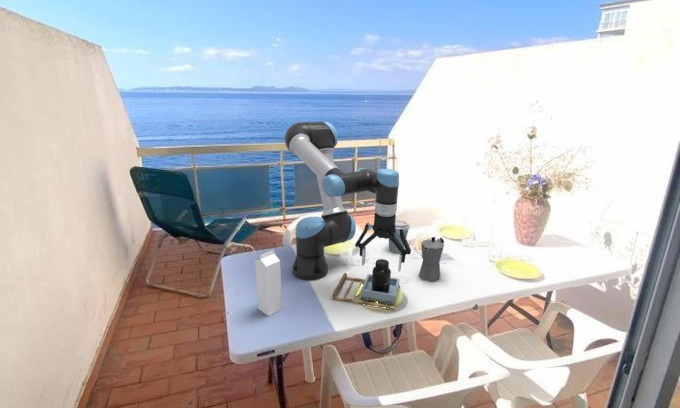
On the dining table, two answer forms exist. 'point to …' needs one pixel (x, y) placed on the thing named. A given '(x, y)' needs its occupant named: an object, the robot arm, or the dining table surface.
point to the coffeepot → (431, 259)
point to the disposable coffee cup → (398, 225)
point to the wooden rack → (355, 301)
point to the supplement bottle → (381, 276)
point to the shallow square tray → (380, 296)
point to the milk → (268, 283)
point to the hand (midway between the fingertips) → (381, 266)
